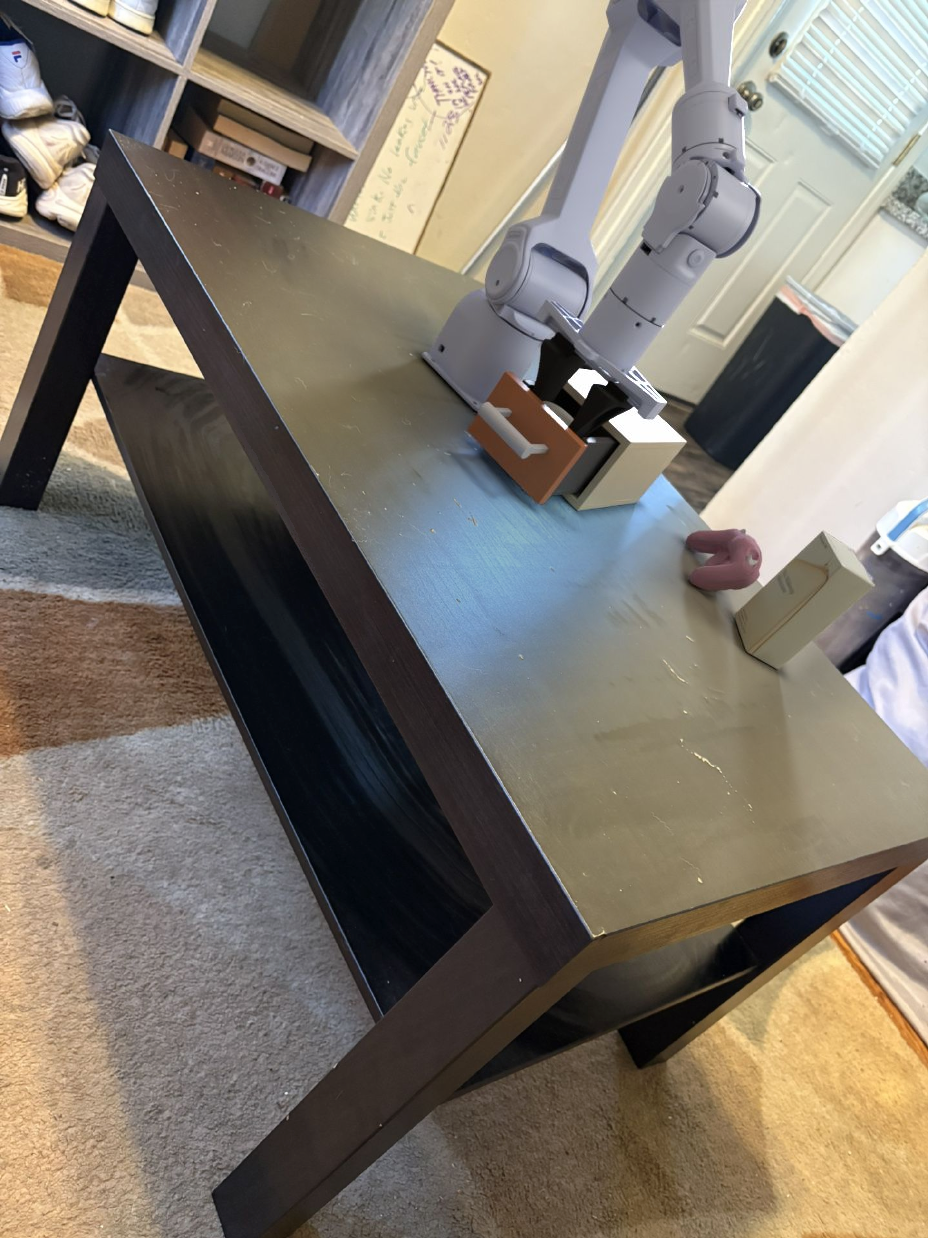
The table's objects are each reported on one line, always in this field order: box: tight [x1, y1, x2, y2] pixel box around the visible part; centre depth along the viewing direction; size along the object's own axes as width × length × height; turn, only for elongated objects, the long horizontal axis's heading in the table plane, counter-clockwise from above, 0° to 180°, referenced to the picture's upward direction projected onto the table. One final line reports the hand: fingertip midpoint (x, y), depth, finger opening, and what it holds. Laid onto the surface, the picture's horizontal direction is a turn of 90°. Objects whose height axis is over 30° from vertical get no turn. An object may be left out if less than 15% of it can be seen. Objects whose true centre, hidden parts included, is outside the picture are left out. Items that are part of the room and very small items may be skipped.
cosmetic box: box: [733, 530, 876, 670], centre depth 83 cm, size 6×4×12 cm
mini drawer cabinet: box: [560, 368, 688, 512], centre depth 91 cm, size 14×12×9 cm
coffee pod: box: [543, 401, 574, 426], centre depth 82 cm, size 4×4×4 cm
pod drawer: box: [466, 371, 621, 505], centre depth 82 cm, size 17×10×7 cm, turn 137°
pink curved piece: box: [685, 528, 763, 592], centre depth 91 cm, size 10×5×7 cm, turn 168°
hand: (546, 432), depth 82 cm, fingers closed on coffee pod, 4 cm apart
